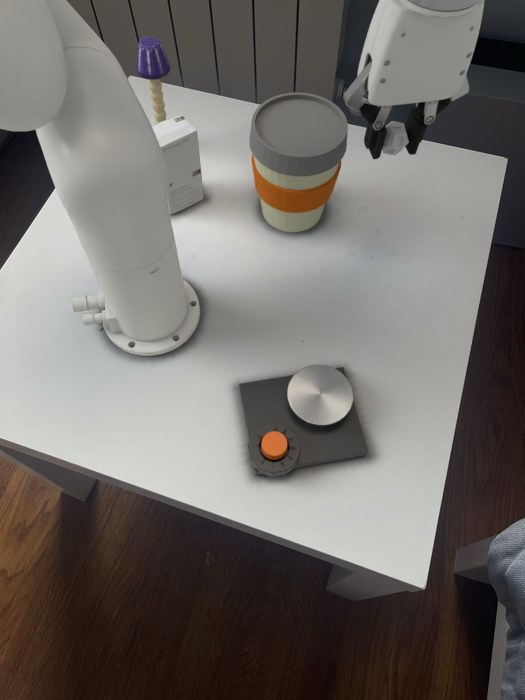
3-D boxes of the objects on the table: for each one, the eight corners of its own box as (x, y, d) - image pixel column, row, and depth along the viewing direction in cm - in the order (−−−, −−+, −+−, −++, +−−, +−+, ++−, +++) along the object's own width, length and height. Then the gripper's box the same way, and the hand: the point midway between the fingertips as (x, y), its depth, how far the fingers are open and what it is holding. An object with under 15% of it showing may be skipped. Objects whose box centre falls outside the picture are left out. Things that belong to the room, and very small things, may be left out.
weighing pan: (294, 431, 60) (295, 430, 59) (281, 371, 63) (281, 369, 63) (360, 420, 61) (361, 418, 60) (343, 361, 64) (343, 359, 64)
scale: (253, 484, 60) (253, 476, 57) (236, 389, 66) (235, 378, 63) (368, 463, 61) (373, 455, 59) (341, 371, 67) (345, 360, 64)
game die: (372, 139, 63) (377, 117, 61) (403, 138, 64) (409, 116, 61) (377, 159, 62) (383, 138, 59) (408, 159, 62) (416, 137, 59)
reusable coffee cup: (302, 256, 76) (312, 174, 62) (232, 214, 79) (228, 129, 66) (350, 203, 81) (369, 117, 67) (282, 167, 84) (288, 78, 71)
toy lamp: (152, 134, 87) (132, 31, 73) (180, 133, 87) (166, 31, 73) (151, 155, 85) (130, 53, 70) (180, 154, 85) (166, 52, 70)
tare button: (263, 462, 59) (264, 457, 57) (259, 438, 60) (259, 433, 59) (289, 457, 59) (289, 453, 57) (283, 433, 60) (284, 429, 59)
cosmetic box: (171, 216, 79) (158, 149, 68) (155, 198, 81) (140, 130, 70) (206, 198, 81) (199, 130, 70) (190, 181, 82) (181, 112, 72)
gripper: (511, -52, 49) (445, 120, 65) (337, -40, 47) (313, 135, 63) (548, -7, 46) (468, 163, 62) (362, 8, 44) (330, 180, 60)
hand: (390, 147), depth 62 cm, fingers closed on game die, 3 cm apart
